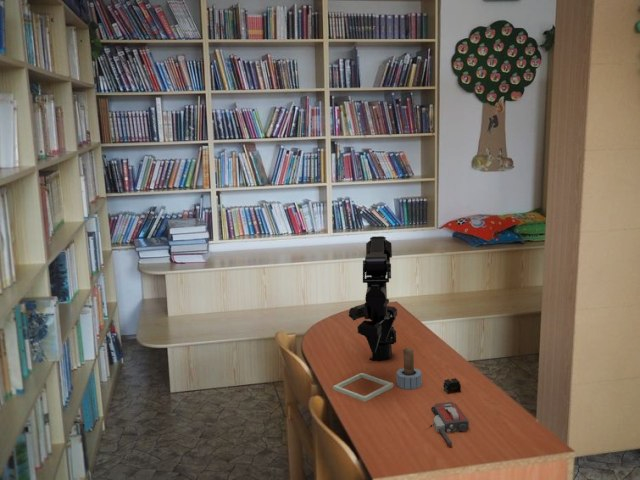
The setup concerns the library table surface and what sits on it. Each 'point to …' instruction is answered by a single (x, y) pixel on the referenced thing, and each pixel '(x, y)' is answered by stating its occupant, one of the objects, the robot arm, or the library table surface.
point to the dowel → (408, 361)
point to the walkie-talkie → (449, 419)
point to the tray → (358, 396)
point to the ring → (409, 379)
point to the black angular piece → (451, 385)
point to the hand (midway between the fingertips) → (378, 346)
